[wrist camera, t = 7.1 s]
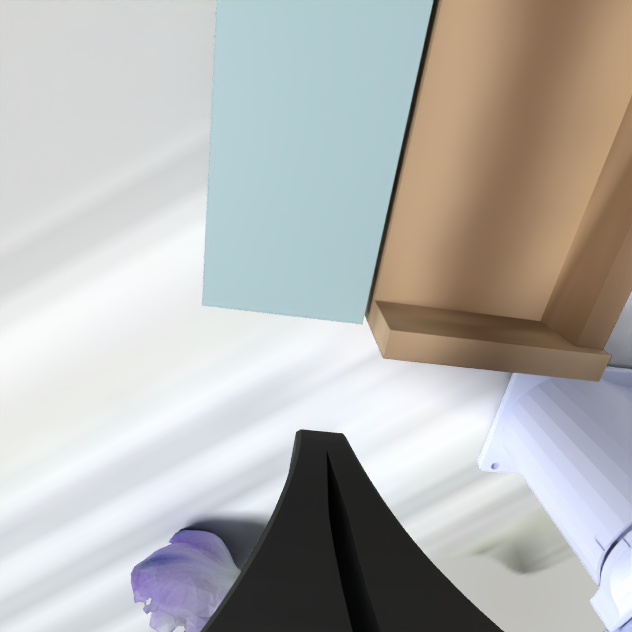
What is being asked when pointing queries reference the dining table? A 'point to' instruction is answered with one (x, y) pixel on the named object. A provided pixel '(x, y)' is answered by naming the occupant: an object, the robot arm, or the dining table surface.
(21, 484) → the dining table surface
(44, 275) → the dining table surface
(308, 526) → the robot arm
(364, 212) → the light blue panel
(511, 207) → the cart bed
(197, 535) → the flower
